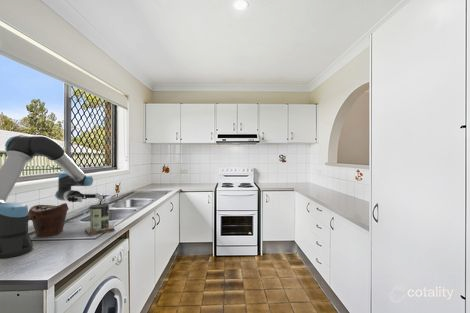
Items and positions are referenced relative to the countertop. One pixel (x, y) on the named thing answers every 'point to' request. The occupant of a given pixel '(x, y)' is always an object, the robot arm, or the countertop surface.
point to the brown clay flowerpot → (48, 219)
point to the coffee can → (99, 217)
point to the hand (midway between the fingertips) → (92, 198)
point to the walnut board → (99, 231)
